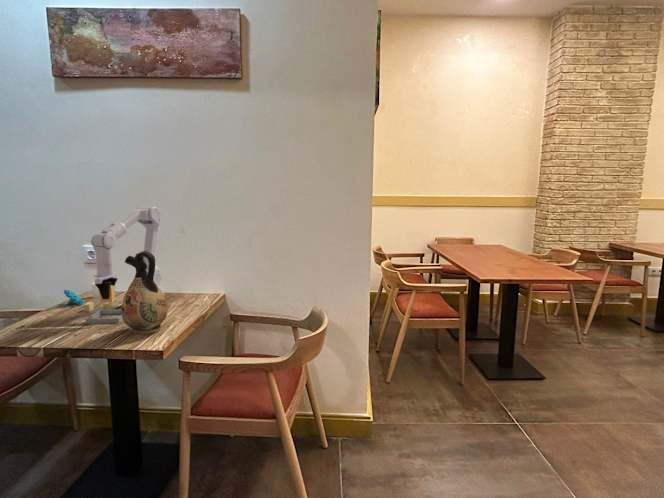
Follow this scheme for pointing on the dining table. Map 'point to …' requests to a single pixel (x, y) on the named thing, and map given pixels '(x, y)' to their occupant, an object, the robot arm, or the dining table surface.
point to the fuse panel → (96, 308)
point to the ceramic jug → (143, 297)
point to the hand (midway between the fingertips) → (107, 297)
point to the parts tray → (94, 319)
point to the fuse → (111, 295)
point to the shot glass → (95, 290)
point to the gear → (73, 297)
